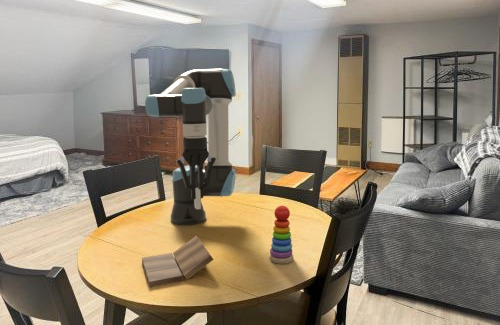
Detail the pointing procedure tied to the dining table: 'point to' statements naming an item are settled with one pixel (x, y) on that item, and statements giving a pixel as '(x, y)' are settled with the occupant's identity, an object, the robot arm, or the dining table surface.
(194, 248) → the plank
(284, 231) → the stacking toy
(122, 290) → the dining table surface
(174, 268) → the panel
